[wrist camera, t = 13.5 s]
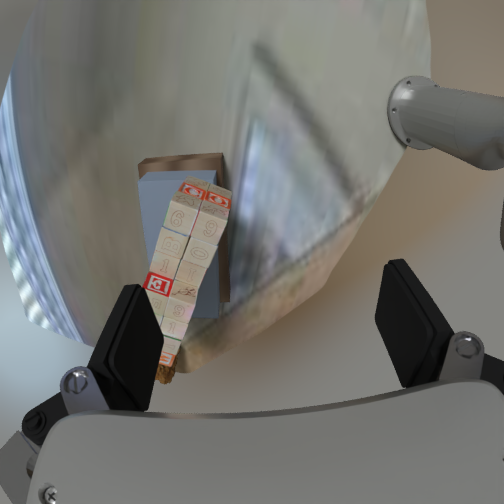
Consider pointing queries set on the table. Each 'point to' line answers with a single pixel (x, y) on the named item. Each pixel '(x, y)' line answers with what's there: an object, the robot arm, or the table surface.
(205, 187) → the stack of blocks
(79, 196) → the table surface
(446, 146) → the robot arm
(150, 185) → the slate-blue tower block
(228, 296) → the walnut tower block
